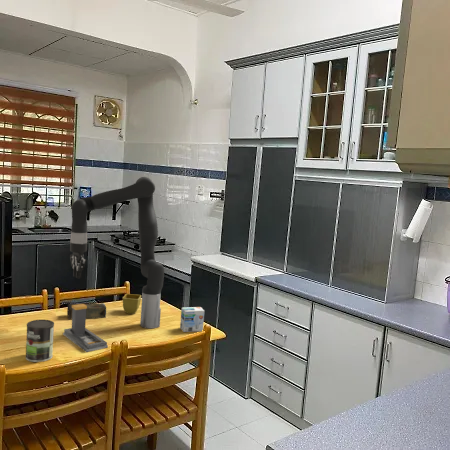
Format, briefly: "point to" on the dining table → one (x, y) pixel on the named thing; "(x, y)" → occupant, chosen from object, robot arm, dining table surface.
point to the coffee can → (39, 340)
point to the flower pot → (131, 303)
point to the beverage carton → (90, 311)
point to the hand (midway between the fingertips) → (77, 277)
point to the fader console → (86, 340)
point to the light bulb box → (192, 319)
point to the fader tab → (78, 318)
